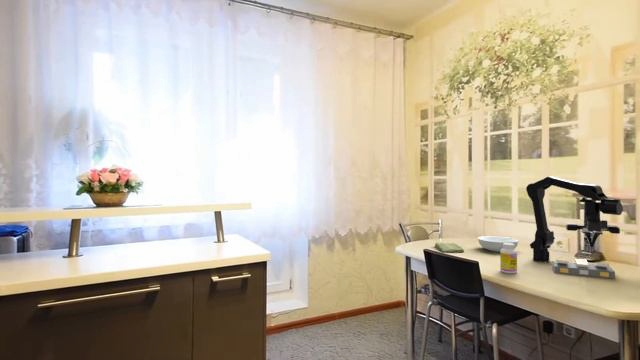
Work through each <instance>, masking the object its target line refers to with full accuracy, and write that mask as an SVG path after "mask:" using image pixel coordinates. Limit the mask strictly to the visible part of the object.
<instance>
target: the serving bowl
mask: <svg viewBox="0 0 640 360" xmlns="http://www.w3.org/2000/svg"><path fill="white" fill-rule="evenodd" d="M477 240H478V244H479V245H480V246H481V248H483V249H485V250H488V251H490V252H494V253H495V252H496V253H500V251H501V249H503V243H513V244H514V246H515V247H514V249H515V250H516V248H517V247H518V244H519V240H518V239H517V238H512V237H507V236H497V235H495V236H494V235H485V236H484V235H483V236H478V237H477Z"/></svg>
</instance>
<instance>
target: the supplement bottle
mask: <svg viewBox="0 0 640 360" xmlns="http://www.w3.org/2000/svg"><path fill="white" fill-rule="evenodd" d="M514 247H515V246H514V244H513V243H503V249H501V251H500V252H499V255H500V257H499V258H500V262H499V263H500V267H499V268H500V272H502V273H505V274H510V275H511V274H512V275H513V274H516V273H518V251H517V250H516V248H515V249H514Z"/></svg>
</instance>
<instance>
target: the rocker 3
mask: <svg viewBox="0 0 640 360" xmlns="http://www.w3.org/2000/svg"><path fill="white" fill-rule="evenodd" d="M593 265H595V266H604V267H609V266H610V263H606V262H594V263H593Z"/></svg>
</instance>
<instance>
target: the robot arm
mask: <svg viewBox="0 0 640 360" xmlns="http://www.w3.org/2000/svg"><path fill="white" fill-rule="evenodd" d="M552 186H553V187H558V188H561V189H564V190H568V191H572V192H575V193H577V194H578V195H580V196H582V198H580V199H579V200H578V202H579V203H583V206H584V207H583V225H578V223H576V222H575V223H574V222H566V224H565V229H566V230H567V231H571V232H572V231H573V232H577V231H578V230H580V232H581V233H582V234H584V236H585V237H586V239H587V242H588V244H589V247H590V248H593V247H594V245H595V243H596V241H597V239H598V238H599V236H600V235H603V234H604V233H603V232H609V233H610V234H616V235H617V234H618V235H619V234H620V233H621V229H620V227H619V226H618V225H611V224H608V220H601V213H602V214H603V215H612V216H613V215H615V216H620V215H622V214H623V209H624V207H623V203H622V202H621V199H620V198H619V199H618V198H613V199H611V198H608V196H607V195H606V194H605V193H604V191H603V189H602V187H601V185H598V184H589V183H588V184H587V183H579V182H575V181H571V180H567V179H562V178H559V177H556V176H546V177H545V178H543V179H540V180H538V181H536V182H531V183H529V184H528V185H526V188H525V190H526V193H527V196H528V198H529V199H530V200H531V203H532V209H533V213H534V219H535V225H536V226H535V227H536V230H535V233H534V241H532V242H531V243H530V244H529V246H530V247H529V248H530V249H532V261H534V262H542V263H549V261H550V251H549V249H551V247H552V245H553V244H554V243H555V240H556V238H555V233H554V231H553V230H552V231H551V230H550V229H549V227H548V220H547V217H546V216H547V215H546V210H545V204H544V199H545V196H546V190H548V189H549V188H550V187H552Z"/></svg>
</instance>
